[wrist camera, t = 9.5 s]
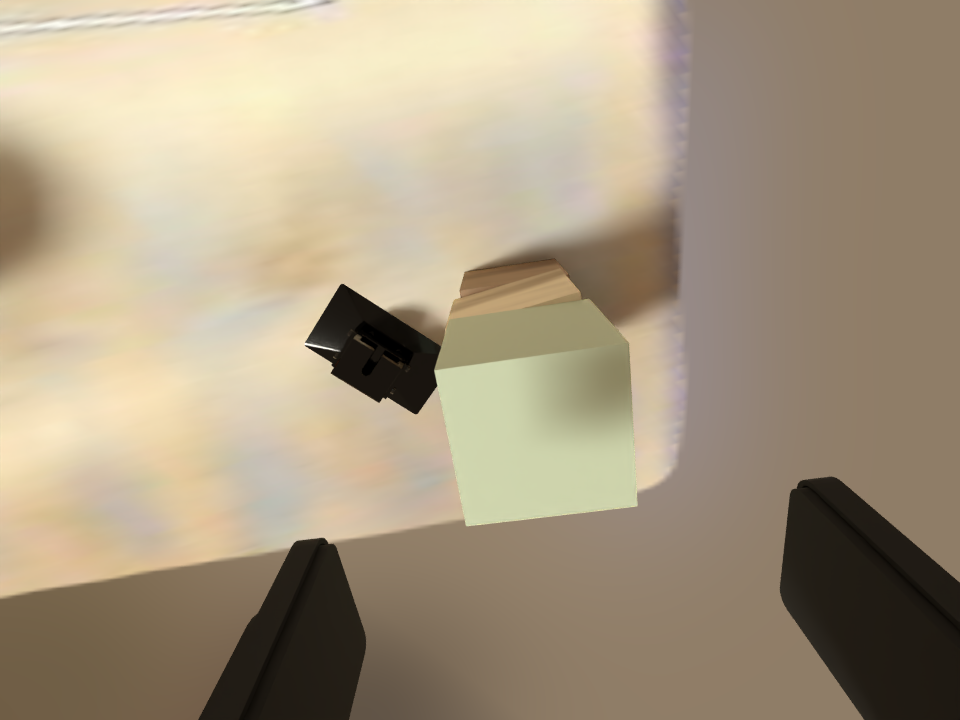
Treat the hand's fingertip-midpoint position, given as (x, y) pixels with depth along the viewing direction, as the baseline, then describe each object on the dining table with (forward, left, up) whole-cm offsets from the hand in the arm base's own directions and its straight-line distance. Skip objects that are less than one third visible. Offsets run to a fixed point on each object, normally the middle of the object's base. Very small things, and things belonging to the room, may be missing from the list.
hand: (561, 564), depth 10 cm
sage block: (+1, 0, -12) cm, 12 cm away
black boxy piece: (+2, -10, -25) cm, 27 cm away
